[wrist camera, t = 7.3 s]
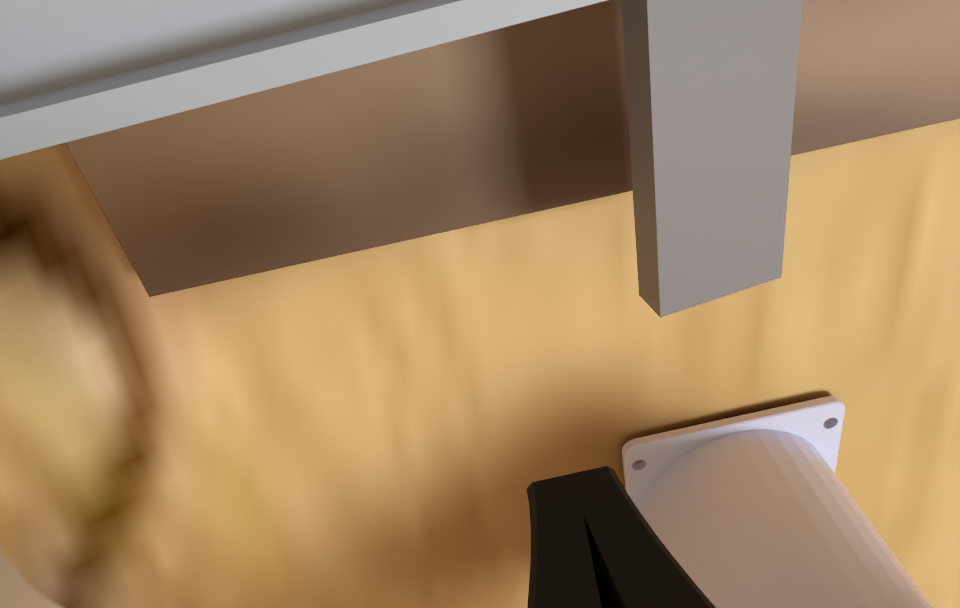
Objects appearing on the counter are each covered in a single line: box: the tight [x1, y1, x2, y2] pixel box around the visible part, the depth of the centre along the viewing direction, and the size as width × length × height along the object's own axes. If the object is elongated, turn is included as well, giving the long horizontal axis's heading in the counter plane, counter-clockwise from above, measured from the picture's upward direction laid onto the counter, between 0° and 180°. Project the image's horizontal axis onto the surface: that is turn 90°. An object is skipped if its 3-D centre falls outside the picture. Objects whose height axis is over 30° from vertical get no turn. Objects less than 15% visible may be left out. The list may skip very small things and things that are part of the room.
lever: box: [0, 0, 802, 317], centre depth 11 cm, size 13×15×4 cm
